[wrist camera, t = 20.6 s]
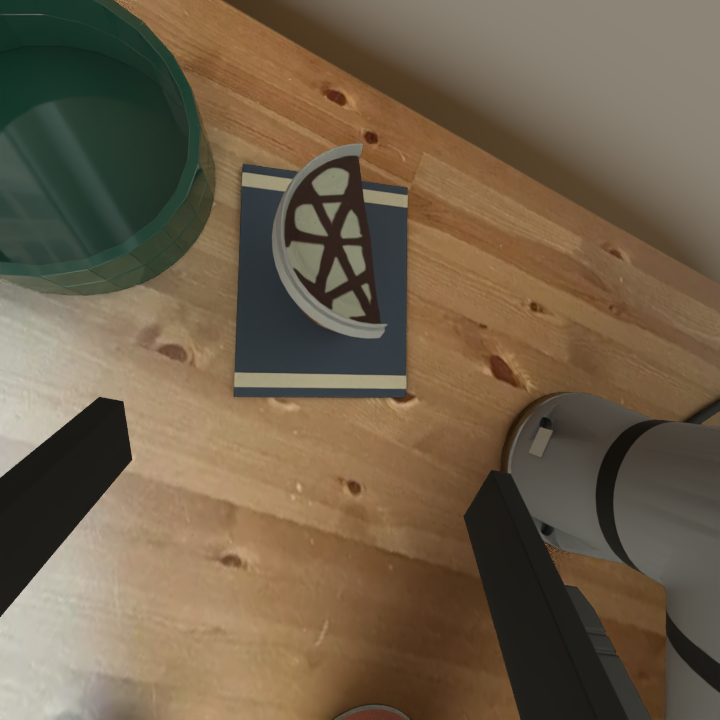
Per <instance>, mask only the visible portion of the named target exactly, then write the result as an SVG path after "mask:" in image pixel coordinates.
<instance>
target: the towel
mask: <svg viewBox="0 0 720 720" xmlns="http://www.w3.org/2000/svg"><path fill="white" fill-rule="evenodd" d="M297 173H298V172H296V171H289V170H282V169H275V168H268V167H262V166H255V165H248V164H243V172H242V198H241V224H240V250H239V275H238V301H237V327H236V352H235V373H234V397H406V317H407V208H408V195H407V188H405V187H399V186H392V185H385V184H378V183H371V182H364V181H362V188H363V195H364V202H365V208H366V215H367V220H368V226H369V231H370V237H371V247H372V258H373V268H374V277H375V285H376V294H377V301H378V307H379V311H380V320H381V324H387V326H386V327H384V328H385V332H384V333H383V334H382V336H381V337H380V338H359V337H351V336H348V335H345V334H341V333H338V332H335V331H331V330H327V329H325V328H323V327H321V326H319V325H317V324H316V323H314V322H313V321H311V320H310V319H309V318H308V317H307V316H306V315H305V314H304V313H303V312H302V311H301V309H300V308H299V306H298V305H297V304H296V302H295V301H294V300H293V299H292V297H291V296H290V295H289V293H288V292H287V290H286V288H285V286H284V285H283V283H282V281H281V279H280V276H279V274H278V271H277V268H276V265H275V260H274V256H273V249H272V231H273V223H274V219H275V216H276V212H277V209H278V206H279V204H280V201H281V199H282V197H283V195H284V193H285V191H286V189H287V187H288V185H289V183H290V182H291V181H292V179H293V178H294V177H295V176H296V174H297Z"/></svg>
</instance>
